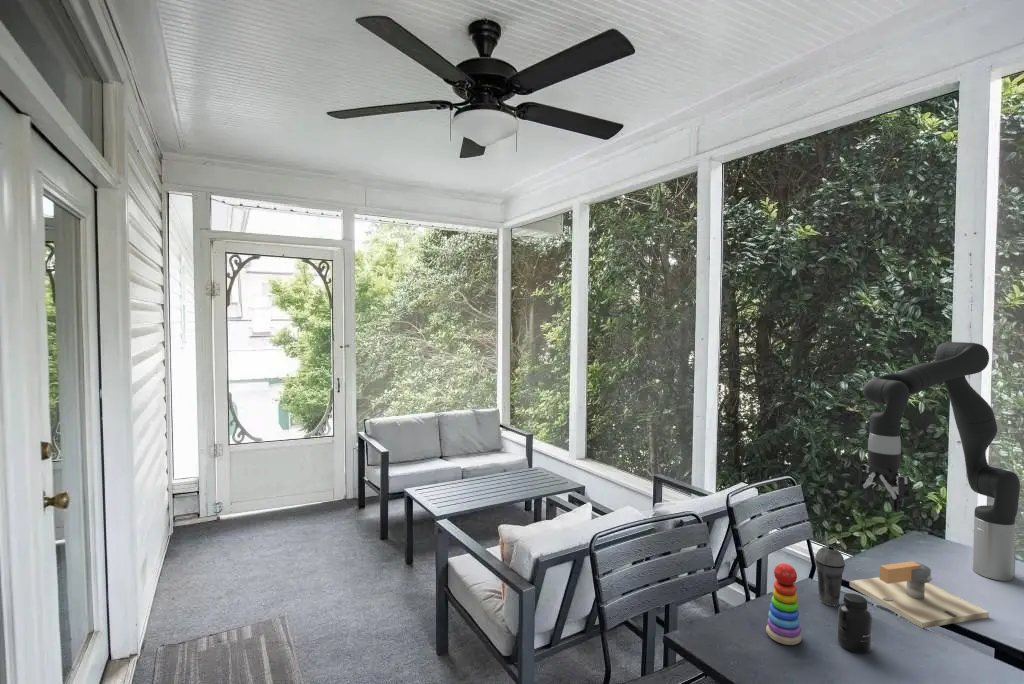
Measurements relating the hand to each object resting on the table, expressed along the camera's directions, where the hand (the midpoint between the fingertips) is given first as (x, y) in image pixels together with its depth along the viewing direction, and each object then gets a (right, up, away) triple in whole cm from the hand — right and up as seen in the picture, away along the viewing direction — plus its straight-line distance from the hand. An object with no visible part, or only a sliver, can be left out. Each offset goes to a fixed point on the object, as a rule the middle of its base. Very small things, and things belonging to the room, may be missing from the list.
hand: (882, 506), depth 148 cm
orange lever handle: (+5, -20, -2) cm, 20 cm away
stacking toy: (-37, -28, -17) cm, 49 cm away
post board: (+9, -26, -1) cm, 28 cm away
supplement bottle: (-22, -28, -21) cm, 41 cm away
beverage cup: (-16, -27, -1) cm, 31 cm away
